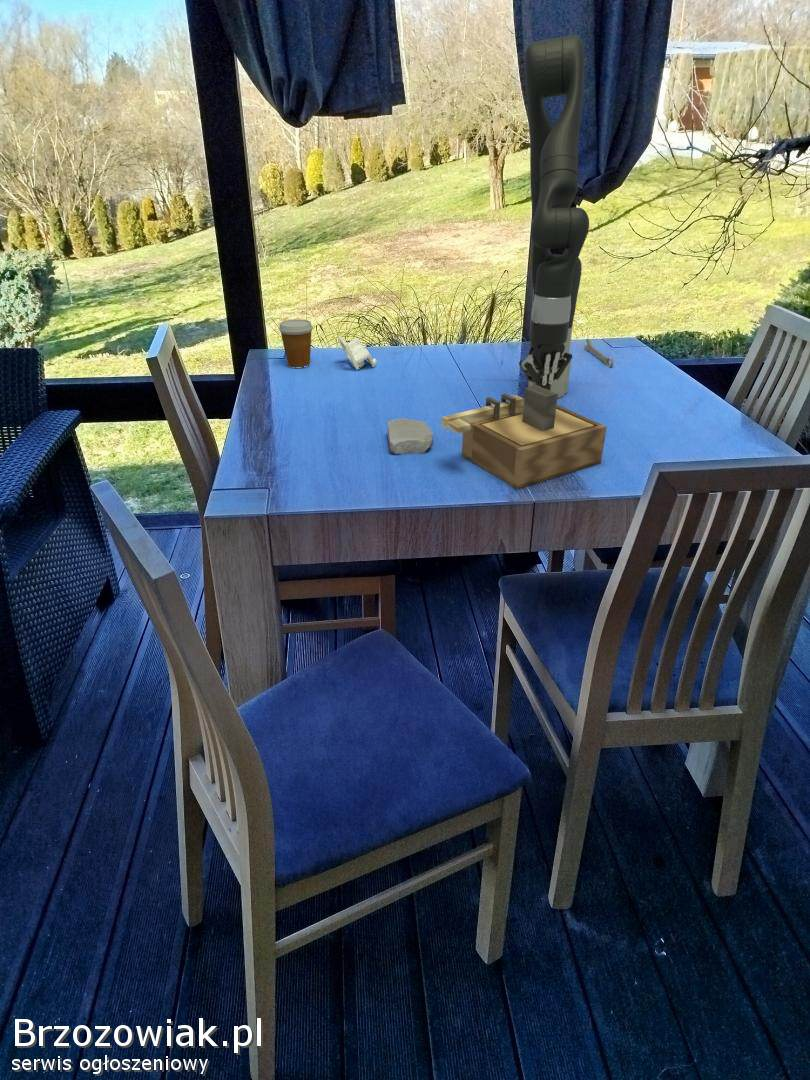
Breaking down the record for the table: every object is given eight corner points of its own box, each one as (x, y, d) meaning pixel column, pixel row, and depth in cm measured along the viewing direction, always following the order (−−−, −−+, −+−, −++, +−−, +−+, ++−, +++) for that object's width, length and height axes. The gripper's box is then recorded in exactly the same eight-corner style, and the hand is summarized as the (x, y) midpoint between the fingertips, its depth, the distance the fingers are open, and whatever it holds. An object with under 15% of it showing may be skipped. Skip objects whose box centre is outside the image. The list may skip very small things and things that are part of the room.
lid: (551, 411, 145) (555, 374, 141) (593, 430, 136) (599, 391, 132) (481, 428, 137) (483, 390, 132) (521, 450, 128) (525, 409, 123)
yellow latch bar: (514, 407, 144) (515, 394, 142) (533, 416, 139) (534, 403, 138) (440, 425, 135) (440, 412, 134) (457, 435, 131) (458, 422, 129)
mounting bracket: (350, 365, 202) (334, 333, 196) (369, 355, 203) (353, 322, 196) (360, 377, 193) (344, 344, 186) (380, 367, 193) (364, 333, 187)
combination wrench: (614, 357, 192) (588, 337, 208) (610, 357, 192) (584, 337, 208) (612, 370, 194) (586, 349, 210) (608, 370, 194) (582, 349, 210)
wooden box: (541, 434, 152) (547, 383, 146) (600, 463, 139) (609, 409, 133) (461, 455, 142) (464, 402, 136) (517, 489, 129) (522, 432, 123)
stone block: (426, 440, 155) (383, 433, 153) (431, 420, 152) (387, 413, 150) (433, 464, 145) (387, 457, 143) (438, 443, 142) (391, 436, 140)
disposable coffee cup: (286, 372, 191) (282, 328, 185) (279, 362, 199) (275, 320, 192) (319, 368, 194) (316, 325, 188) (310, 359, 202) (307, 317, 195)
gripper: (562, 309, 142) (553, 389, 151) (512, 318, 136) (506, 401, 145) (588, 317, 137) (577, 399, 146) (537, 326, 131) (529, 412, 140)
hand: (541, 400), depth 146 cm, fingers closed
